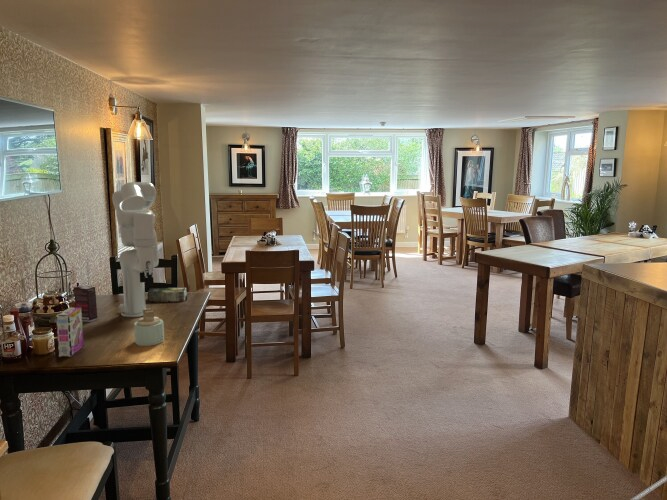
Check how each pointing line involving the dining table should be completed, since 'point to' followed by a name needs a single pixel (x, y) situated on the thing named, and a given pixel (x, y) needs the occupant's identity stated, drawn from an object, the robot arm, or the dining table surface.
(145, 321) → the stopper
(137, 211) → the robot arm
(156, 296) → the juice carton
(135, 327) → the canister
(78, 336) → the candy bar box
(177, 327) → the dining table surface
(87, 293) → the supplement box
